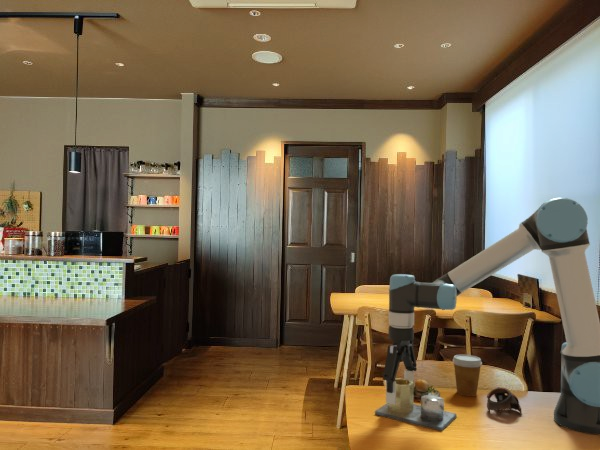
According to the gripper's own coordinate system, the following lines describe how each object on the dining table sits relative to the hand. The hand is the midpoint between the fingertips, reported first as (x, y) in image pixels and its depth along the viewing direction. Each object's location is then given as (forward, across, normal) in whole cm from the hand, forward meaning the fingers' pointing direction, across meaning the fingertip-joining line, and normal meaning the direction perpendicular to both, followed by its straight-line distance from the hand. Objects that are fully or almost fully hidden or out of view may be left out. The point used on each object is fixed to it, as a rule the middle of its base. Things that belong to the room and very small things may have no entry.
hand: (399, 397), depth 146 cm
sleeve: (+3, 0, 0) cm, 3 cm away
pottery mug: (+5, -20, +25) cm, 33 cm away
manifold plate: (+4, 0, +5) cm, 7 cm away
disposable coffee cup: (+5, -31, +11) cm, 33 cm away
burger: (+5, -18, 0) cm, 19 cm away
